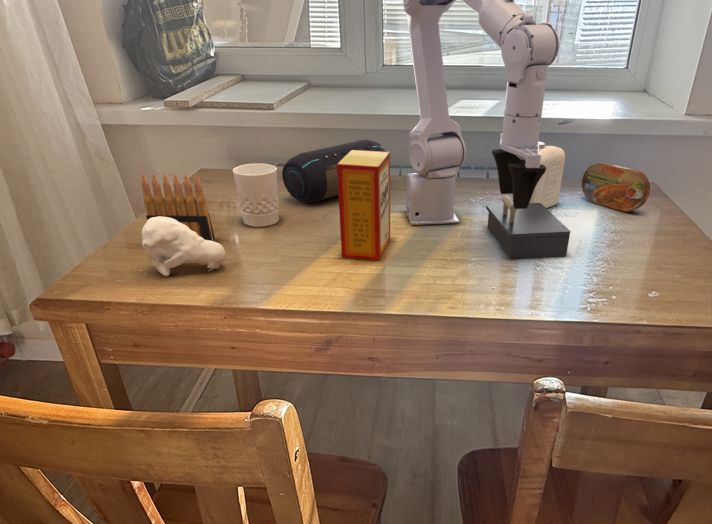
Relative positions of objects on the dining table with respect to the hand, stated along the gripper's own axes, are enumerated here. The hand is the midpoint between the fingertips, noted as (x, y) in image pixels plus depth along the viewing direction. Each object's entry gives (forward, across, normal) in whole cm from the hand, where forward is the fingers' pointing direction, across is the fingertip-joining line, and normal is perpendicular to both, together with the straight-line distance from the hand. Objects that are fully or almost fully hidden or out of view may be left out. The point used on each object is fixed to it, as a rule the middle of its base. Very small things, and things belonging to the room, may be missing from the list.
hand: (513, 200), depth 96 cm
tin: (+10, +22, -30) cm, 38 cm away
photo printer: (+10, +23, -14) cm, 28 cm away
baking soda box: (+10, +5, +24) cm, 27 cm away
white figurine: (+10, 0, +53) cm, 54 cm away
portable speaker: (+10, +37, +27) cm, 47 cm away
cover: (+6, +5, -4) cm, 9 cm away
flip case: (+9, +5, -5) cm, 12 cm away
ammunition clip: (+10, +12, +56) cm, 58 cm away
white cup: (+10, +21, +43) cm, 49 cm away
